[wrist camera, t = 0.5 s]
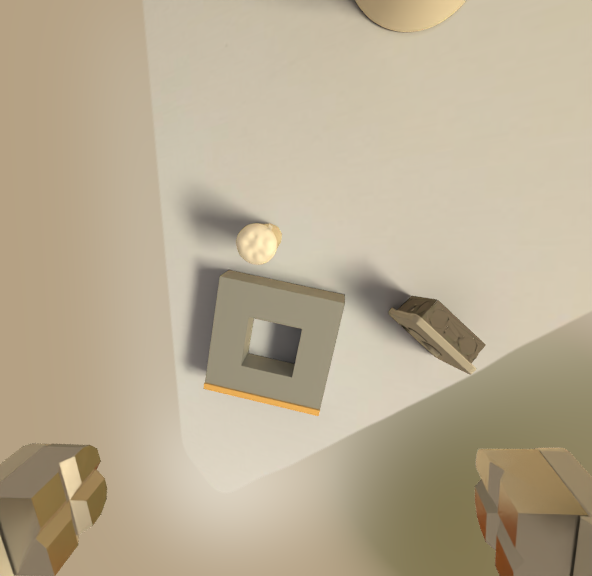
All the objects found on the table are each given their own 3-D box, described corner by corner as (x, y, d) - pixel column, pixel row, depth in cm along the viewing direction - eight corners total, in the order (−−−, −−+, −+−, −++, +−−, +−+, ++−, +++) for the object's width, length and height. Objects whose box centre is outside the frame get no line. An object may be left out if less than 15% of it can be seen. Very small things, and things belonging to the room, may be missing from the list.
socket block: (228, 269, 51) (218, 276, 47) (344, 294, 50) (344, 304, 46) (213, 373, 55) (203, 388, 51) (320, 398, 54) (318, 416, 50)
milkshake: (298, 230, 49) (287, 240, 39) (271, 260, 50) (254, 276, 40) (272, 206, 48) (255, 209, 39) (246, 236, 50) (222, 247, 40)
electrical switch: (385, 311, 50) (401, 331, 41) (413, 282, 49) (436, 297, 40) (435, 357, 51) (461, 387, 41) (464, 330, 50) (497, 354, 41)
